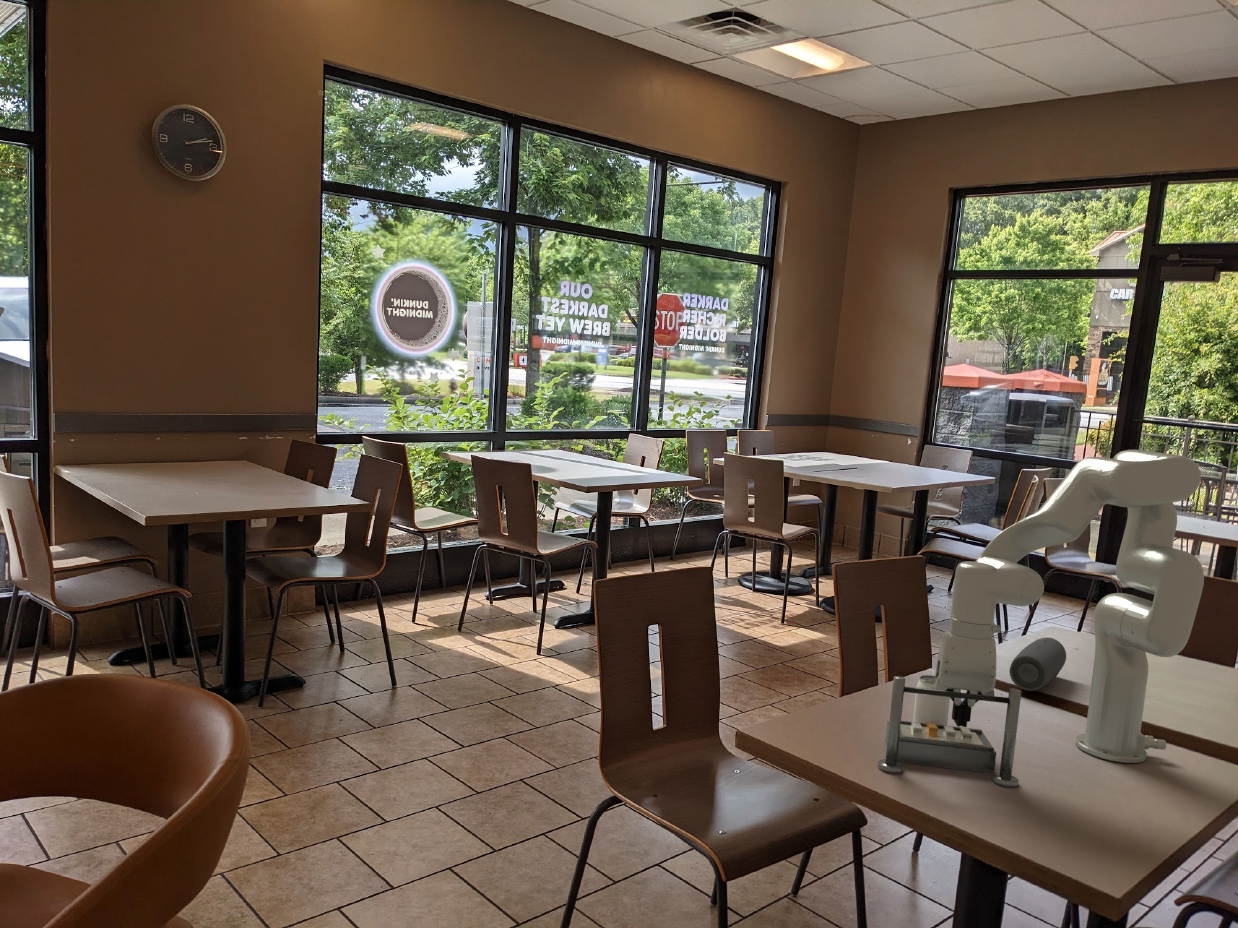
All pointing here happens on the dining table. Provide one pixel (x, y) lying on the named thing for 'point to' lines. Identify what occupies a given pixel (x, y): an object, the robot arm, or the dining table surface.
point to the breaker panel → (944, 747)
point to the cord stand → (899, 688)
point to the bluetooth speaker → (1038, 664)
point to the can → (930, 704)
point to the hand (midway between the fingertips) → (960, 723)
